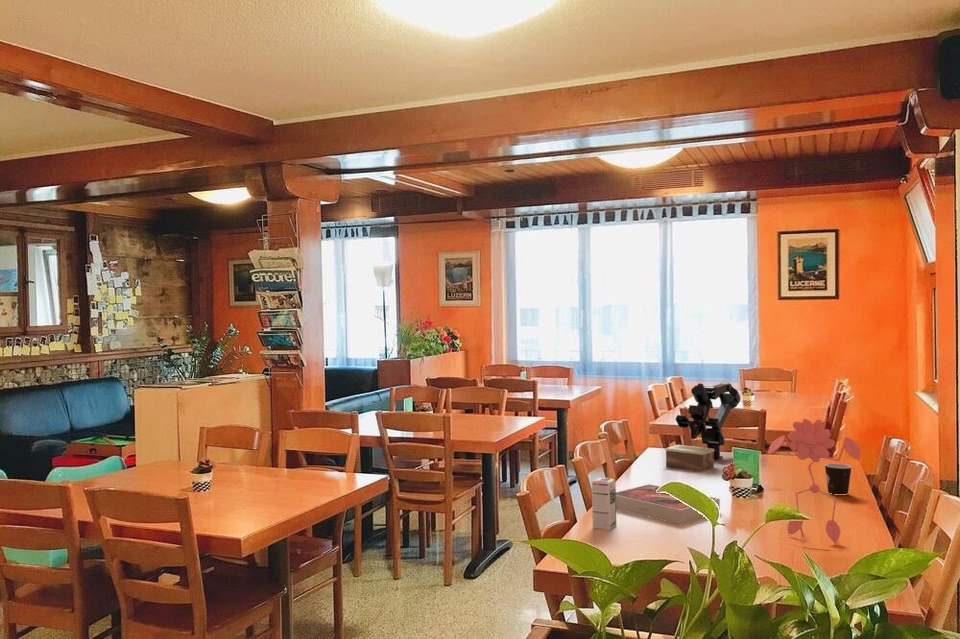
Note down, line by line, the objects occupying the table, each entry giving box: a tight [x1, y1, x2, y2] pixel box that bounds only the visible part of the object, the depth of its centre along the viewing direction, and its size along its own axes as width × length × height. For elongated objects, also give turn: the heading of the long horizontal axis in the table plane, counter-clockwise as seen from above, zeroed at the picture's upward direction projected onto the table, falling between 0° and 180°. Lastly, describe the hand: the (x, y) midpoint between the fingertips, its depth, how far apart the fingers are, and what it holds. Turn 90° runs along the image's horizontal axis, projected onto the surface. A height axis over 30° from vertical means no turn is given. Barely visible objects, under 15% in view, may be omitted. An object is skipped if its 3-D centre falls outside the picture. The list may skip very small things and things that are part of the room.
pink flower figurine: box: [767, 418, 861, 552], centre depth 214 cm, size 15×26×35 cm, turn 49°
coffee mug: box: [824, 463, 852, 494], centre depth 269 cm, size 12×9×10 cm
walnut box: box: [665, 451, 715, 472], centre depth 320 cm, size 12×16×6 cm
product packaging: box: [616, 483, 721, 525], centre depth 250 cm, size 22×28×5 cm
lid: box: [664, 444, 714, 455], centre depth 320 cm, size 12×17×1 cm
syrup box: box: [591, 477, 617, 531], centre depth 230 cm, size 6×6×14 cm
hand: (692, 438), depth 322 cm, fingers closed
